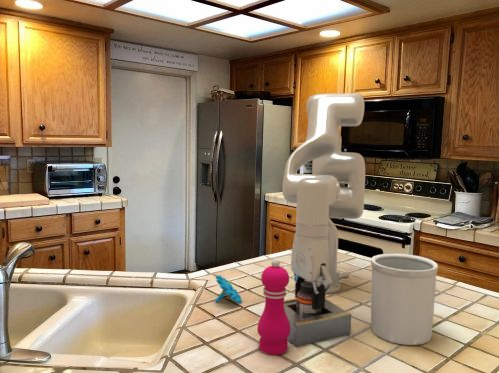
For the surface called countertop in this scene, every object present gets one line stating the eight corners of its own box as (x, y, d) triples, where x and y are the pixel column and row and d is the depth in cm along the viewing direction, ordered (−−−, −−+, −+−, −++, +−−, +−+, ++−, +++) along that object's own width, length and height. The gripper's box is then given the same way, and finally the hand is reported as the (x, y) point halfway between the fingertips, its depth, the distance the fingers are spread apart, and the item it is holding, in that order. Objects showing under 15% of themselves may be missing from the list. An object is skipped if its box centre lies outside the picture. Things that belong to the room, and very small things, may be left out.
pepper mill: (255, 340, 95) (257, 254, 93) (286, 339, 95) (289, 254, 93) (258, 356, 88) (260, 264, 85) (292, 355, 88) (295, 264, 86)
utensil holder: (355, 324, 104) (358, 255, 102) (401, 315, 110) (405, 250, 108) (397, 352, 91) (402, 274, 89) (447, 340, 97) (453, 266, 95)
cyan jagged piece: (243, 304, 111) (217, 277, 112) (227, 319, 111) (201, 292, 112) (244, 294, 122) (221, 269, 123) (230, 308, 122) (206, 283, 123)
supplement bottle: (299, 322, 105) (299, 278, 104) (322, 325, 103) (323, 281, 102) (293, 332, 100) (294, 286, 98) (318, 336, 98) (319, 288, 97)
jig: (318, 313, 110) (319, 294, 109) (350, 334, 98) (351, 313, 98) (268, 323, 104) (269, 302, 103) (296, 347, 92) (296, 324, 91)
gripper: (279, 224, 104) (278, 292, 107) (319, 240, 89) (316, 319, 91) (305, 222, 108) (303, 288, 110) (348, 237, 92) (344, 314, 94)
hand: (309, 302), depth 100 cm, fingers open, 6 cm apart
